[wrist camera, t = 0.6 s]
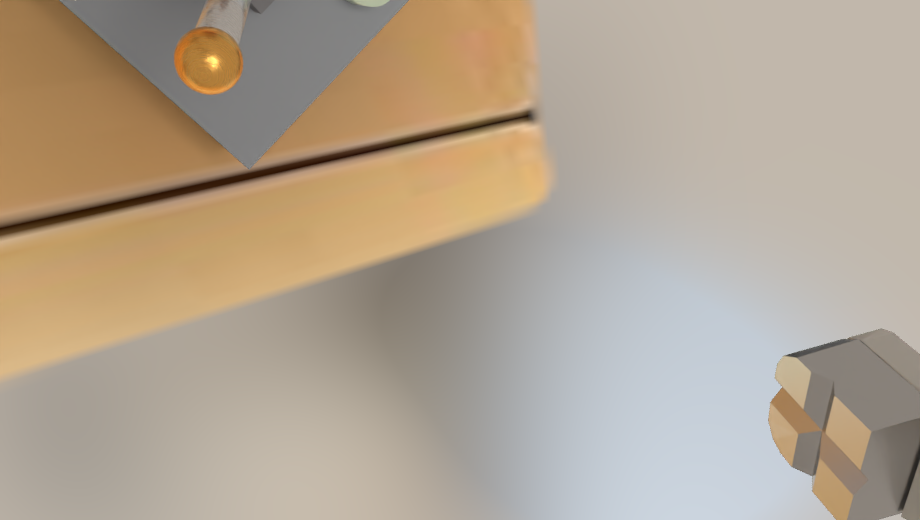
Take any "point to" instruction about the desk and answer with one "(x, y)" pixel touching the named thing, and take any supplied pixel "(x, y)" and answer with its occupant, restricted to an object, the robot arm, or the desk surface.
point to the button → (369, 2)
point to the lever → (213, 48)
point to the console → (264, 58)
